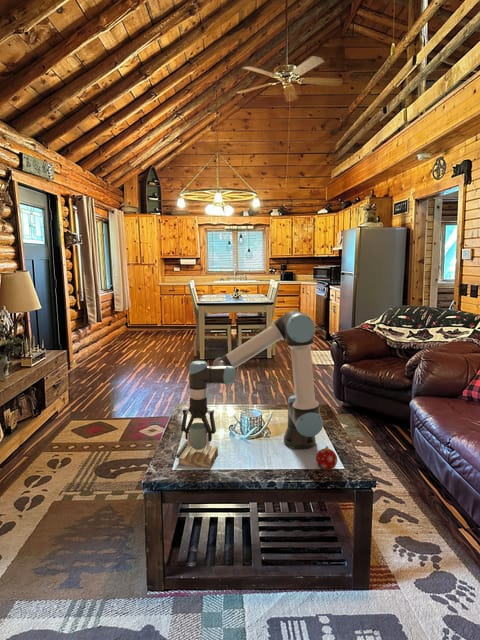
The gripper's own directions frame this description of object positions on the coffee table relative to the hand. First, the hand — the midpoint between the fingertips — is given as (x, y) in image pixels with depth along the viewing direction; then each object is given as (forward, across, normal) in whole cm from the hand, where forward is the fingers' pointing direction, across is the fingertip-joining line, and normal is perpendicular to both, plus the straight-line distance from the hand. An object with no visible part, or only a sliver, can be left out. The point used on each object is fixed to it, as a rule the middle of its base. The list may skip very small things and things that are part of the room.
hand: (198, 447), depth 180 cm
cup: (0, 0, 0) cm, 0 cm away
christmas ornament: (+5, -55, -1) cm, 55 cm away
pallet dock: (+5, 0, 0) cm, 5 cm away
